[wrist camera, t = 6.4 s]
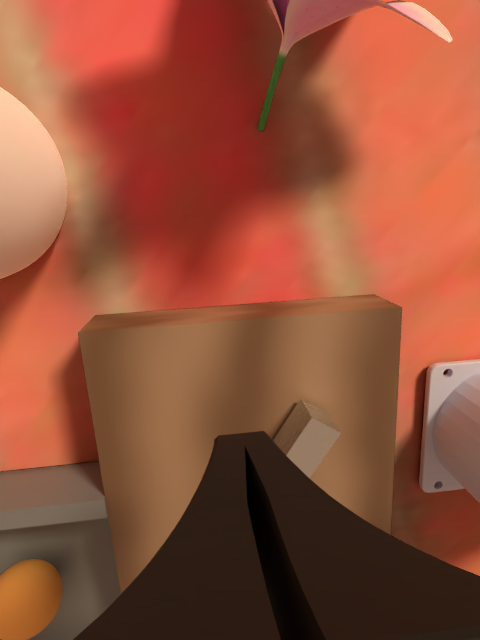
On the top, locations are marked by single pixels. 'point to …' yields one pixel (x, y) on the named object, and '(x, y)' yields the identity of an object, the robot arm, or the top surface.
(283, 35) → the lily
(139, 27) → the top surface
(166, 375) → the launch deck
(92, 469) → the tray
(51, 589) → the ball
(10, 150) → the cup
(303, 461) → the lever
